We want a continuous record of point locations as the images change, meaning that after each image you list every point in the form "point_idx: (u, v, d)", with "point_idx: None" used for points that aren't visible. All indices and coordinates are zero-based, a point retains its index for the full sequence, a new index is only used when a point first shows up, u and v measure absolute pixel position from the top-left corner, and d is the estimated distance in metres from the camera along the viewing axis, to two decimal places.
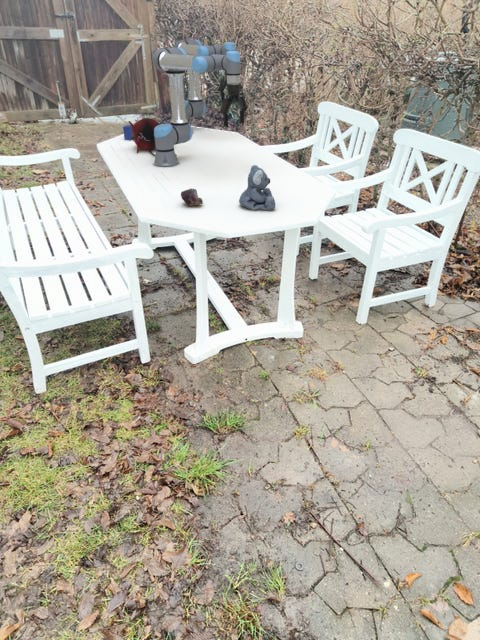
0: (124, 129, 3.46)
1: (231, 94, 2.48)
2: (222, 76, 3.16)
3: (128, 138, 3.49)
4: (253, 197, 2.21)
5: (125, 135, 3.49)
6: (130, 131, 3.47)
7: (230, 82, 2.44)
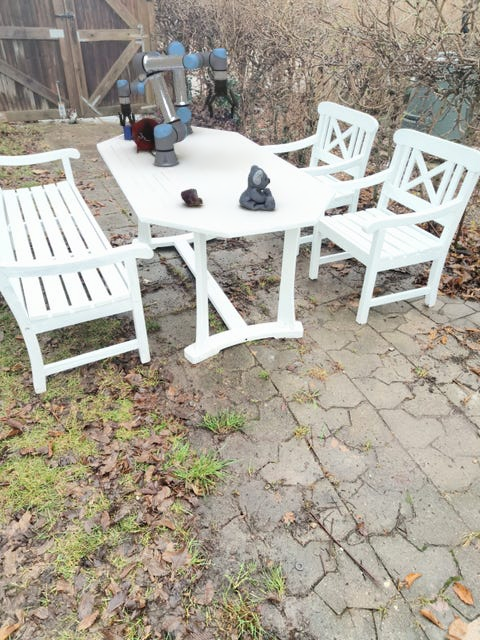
0: (124, 129, 3.46)
1: None
2: (133, 112, 3.40)
3: (128, 138, 3.49)
4: (253, 197, 2.21)
5: (125, 135, 3.49)
6: (130, 131, 3.47)
7: (226, 77, 2.63)
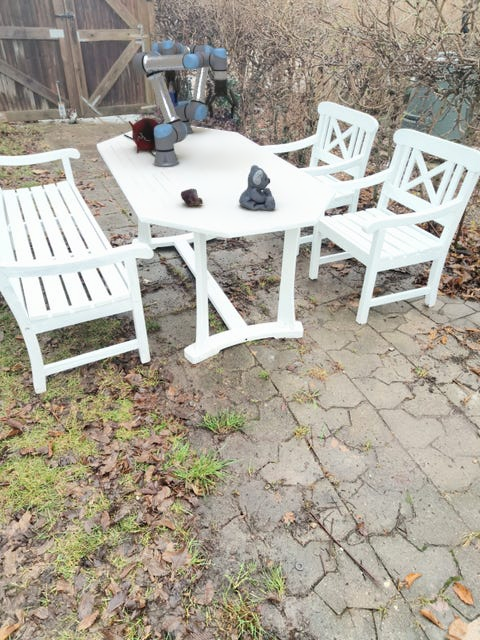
0: None
1: None
2: (178, 77, 3.16)
3: None
4: (253, 197, 2.21)
5: None
6: (174, 97, 3.23)
7: (226, 77, 2.63)
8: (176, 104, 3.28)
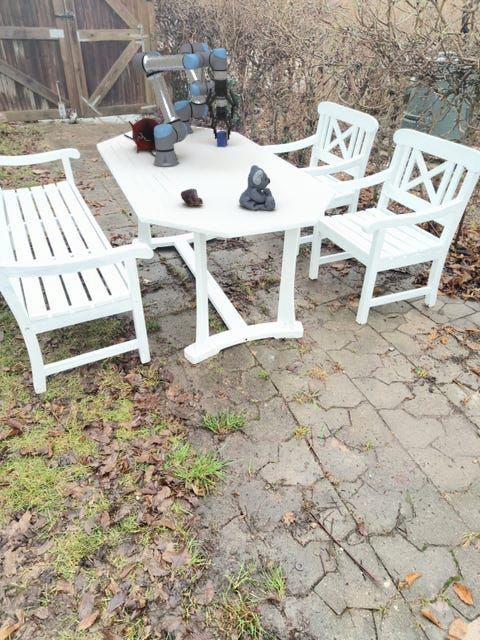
0: (218, 135, 3.27)
1: None
2: (230, 114, 3.19)
3: (221, 145, 3.30)
4: (253, 197, 2.21)
5: (218, 141, 3.29)
6: (224, 137, 3.28)
7: (226, 77, 2.63)
8: (225, 143, 3.33)
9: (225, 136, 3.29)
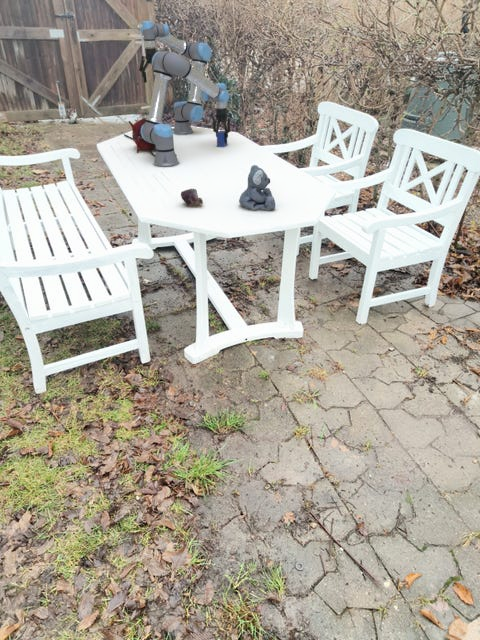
0: (218, 135, 3.27)
1: None
2: None
3: (221, 145, 3.30)
4: (253, 197, 2.21)
5: (218, 141, 3.29)
6: (224, 137, 3.28)
7: None
8: (225, 143, 3.33)
9: None
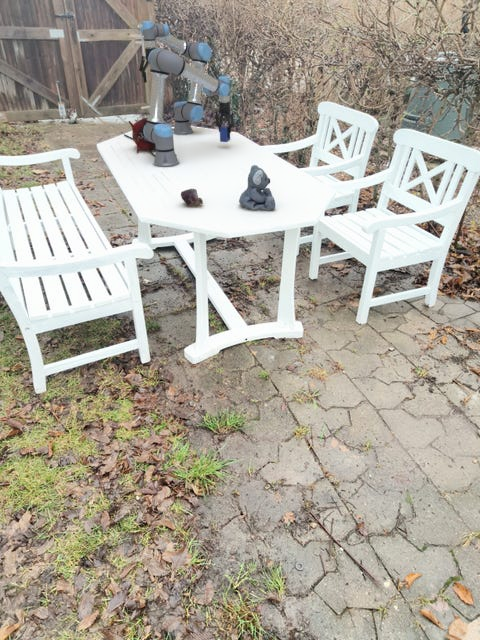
0: (221, 130, 3.18)
1: None
2: None
3: (224, 140, 3.21)
4: (253, 197, 2.21)
5: (221, 136, 3.21)
6: (227, 132, 3.19)
7: (229, 100, 3.10)
8: (228, 138, 3.25)
9: None
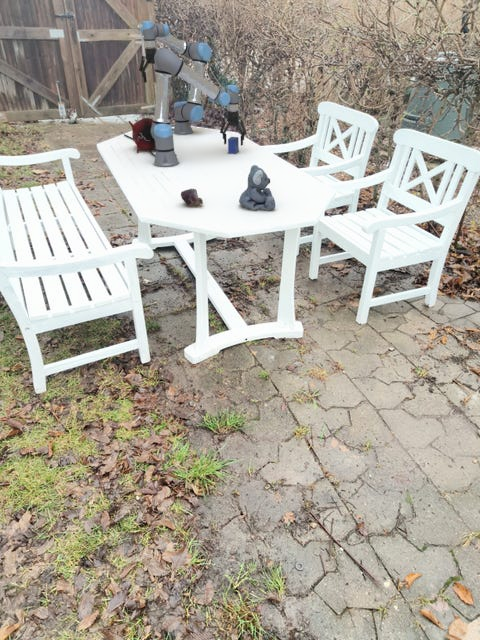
0: (229, 142, 3.10)
1: None
2: None
3: (232, 152, 3.13)
4: (253, 197, 2.21)
5: (229, 148, 3.13)
6: (235, 144, 3.11)
7: (238, 109, 3.01)
8: (237, 150, 3.16)
9: (237, 142, 3.13)
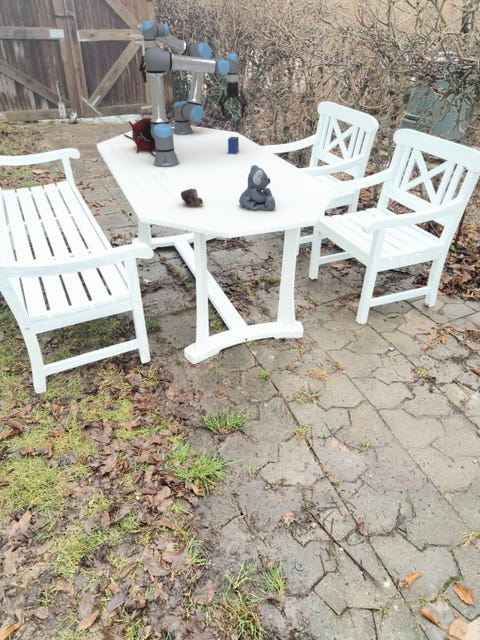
0: (229, 142, 3.10)
1: None
2: None
3: (232, 152, 3.13)
4: (253, 197, 2.21)
5: (229, 148, 3.13)
6: (235, 144, 3.11)
7: None
8: (237, 150, 3.16)
9: (237, 142, 3.13)
